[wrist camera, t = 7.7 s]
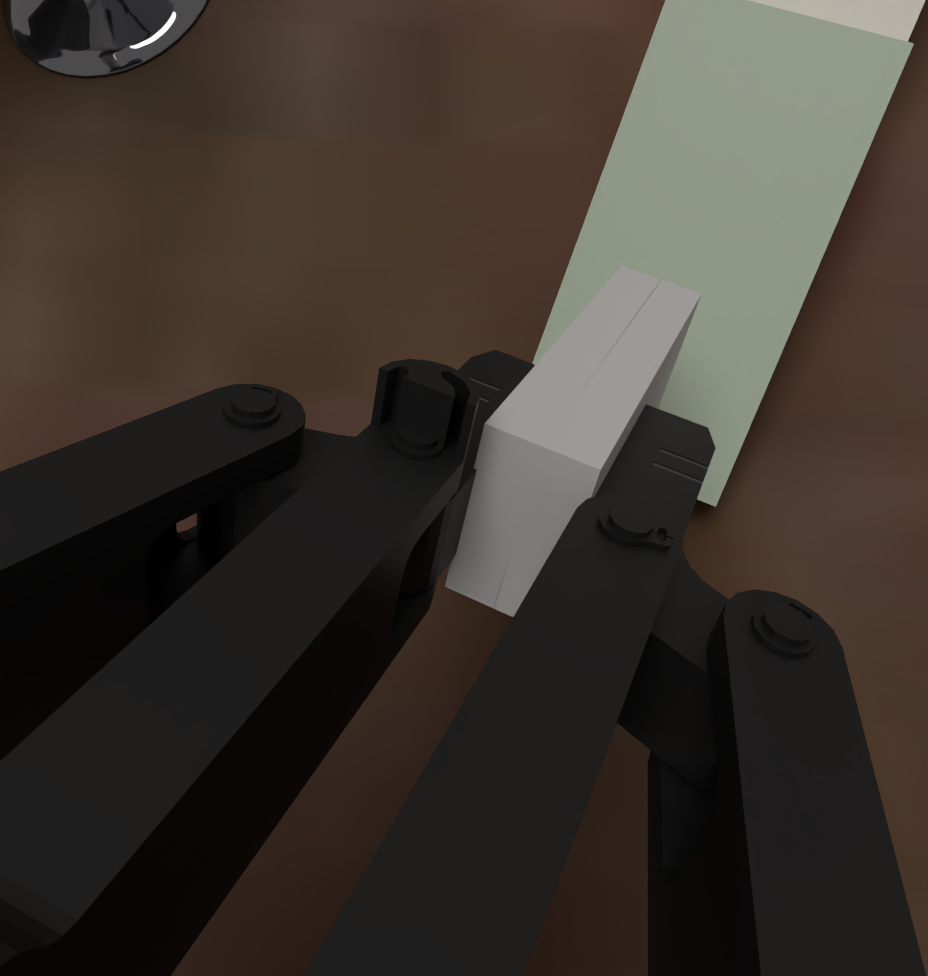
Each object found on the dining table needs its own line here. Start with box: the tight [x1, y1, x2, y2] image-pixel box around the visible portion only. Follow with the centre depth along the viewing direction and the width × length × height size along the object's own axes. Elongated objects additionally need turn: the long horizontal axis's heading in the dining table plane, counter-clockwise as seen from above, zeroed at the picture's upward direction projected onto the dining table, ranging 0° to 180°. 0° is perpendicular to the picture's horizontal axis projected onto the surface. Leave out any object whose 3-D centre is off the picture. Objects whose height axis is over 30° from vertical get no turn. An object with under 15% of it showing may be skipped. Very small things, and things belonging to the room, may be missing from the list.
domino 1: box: [532, 0, 914, 507], centre depth 20 cm, size 2×5×10 cm
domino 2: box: [749, 0, 925, 42], centre depth 20 cm, size 2×5×10 cm
